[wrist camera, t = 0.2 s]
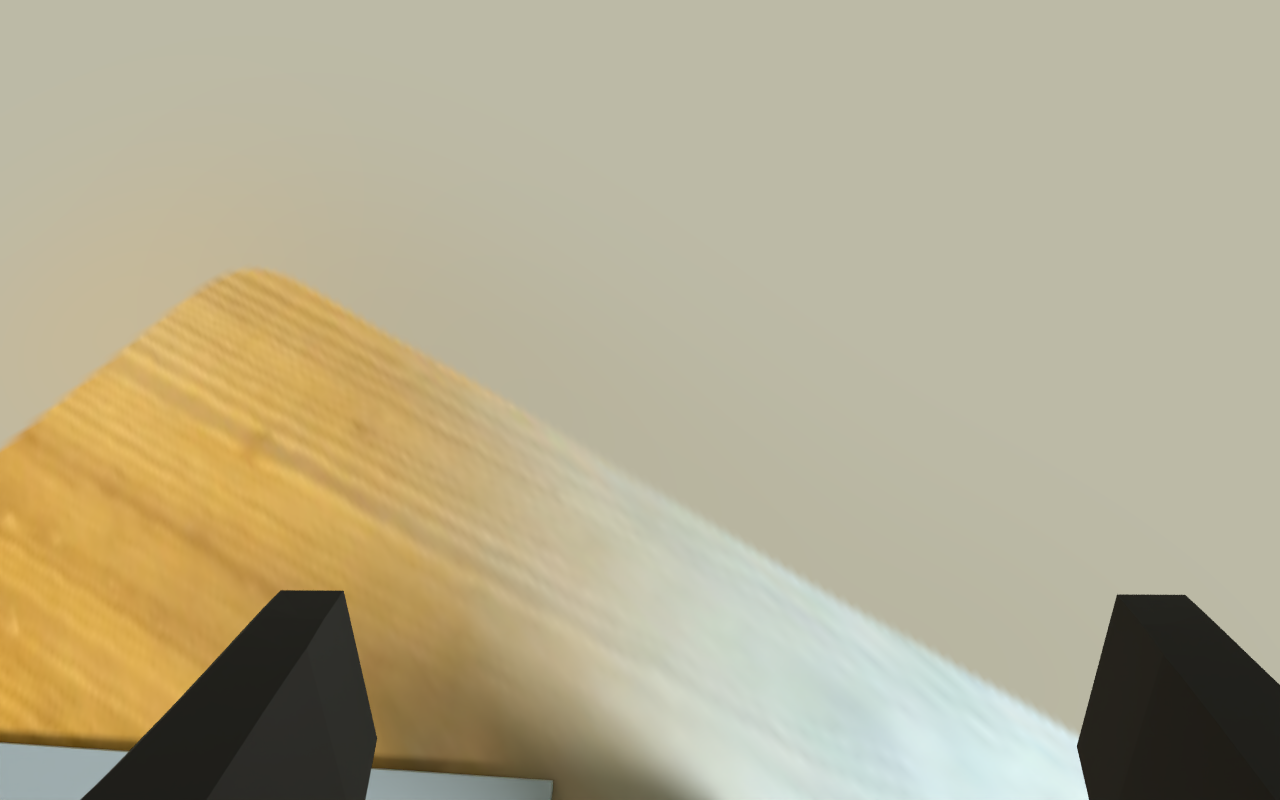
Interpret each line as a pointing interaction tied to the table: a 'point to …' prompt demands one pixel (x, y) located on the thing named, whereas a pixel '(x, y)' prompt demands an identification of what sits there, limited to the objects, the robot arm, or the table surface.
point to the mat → (60, 776)
